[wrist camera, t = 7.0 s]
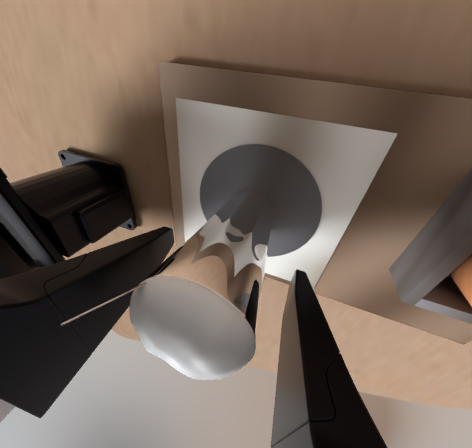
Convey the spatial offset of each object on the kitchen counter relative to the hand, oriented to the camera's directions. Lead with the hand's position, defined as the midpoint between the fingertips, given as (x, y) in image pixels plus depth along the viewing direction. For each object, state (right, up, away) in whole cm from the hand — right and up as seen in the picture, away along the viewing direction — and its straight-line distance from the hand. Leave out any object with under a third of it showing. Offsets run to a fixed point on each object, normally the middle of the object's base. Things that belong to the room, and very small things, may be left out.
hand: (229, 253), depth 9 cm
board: (+6, +2, +3) cm, 7 cm away
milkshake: (+1, +3, +4) cm, 5 cm away
